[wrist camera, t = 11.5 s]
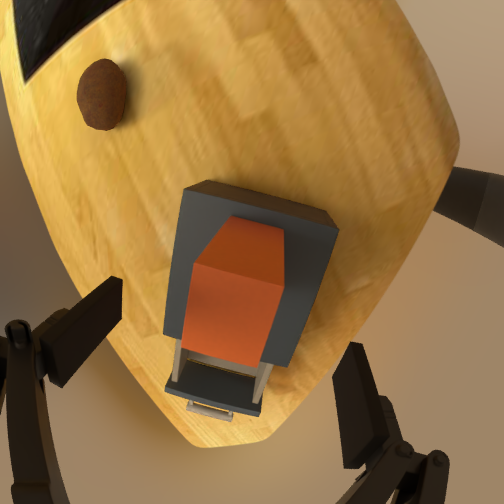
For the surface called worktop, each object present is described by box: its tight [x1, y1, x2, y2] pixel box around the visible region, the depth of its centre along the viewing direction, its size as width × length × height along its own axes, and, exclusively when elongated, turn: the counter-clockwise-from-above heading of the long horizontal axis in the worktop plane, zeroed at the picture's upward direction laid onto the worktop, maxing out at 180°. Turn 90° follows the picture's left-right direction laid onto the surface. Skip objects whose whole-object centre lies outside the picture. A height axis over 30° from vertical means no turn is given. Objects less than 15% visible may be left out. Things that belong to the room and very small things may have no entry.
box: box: [181, 216, 284, 368], centre depth 22 cm, size 5×6×12 cm
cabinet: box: [163, 180, 339, 367], centre depth 34 cm, size 17×15×9 cm
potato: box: [77, 59, 126, 131], centre depth 29 cm, size 7×10×6 cm
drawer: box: [165, 339, 273, 422], centre depth 38 cm, size 20×14×7 cm
